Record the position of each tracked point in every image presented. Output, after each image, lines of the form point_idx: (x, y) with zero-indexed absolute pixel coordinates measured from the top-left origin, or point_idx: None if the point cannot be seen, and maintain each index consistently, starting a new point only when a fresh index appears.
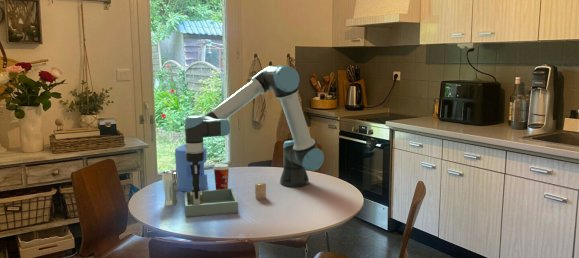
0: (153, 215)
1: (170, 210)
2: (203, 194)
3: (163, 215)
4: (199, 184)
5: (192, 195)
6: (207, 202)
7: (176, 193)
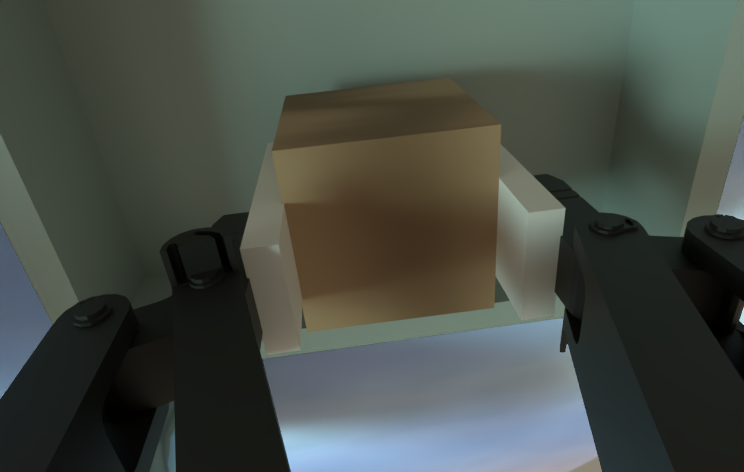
0: (472, 454)
1: (377, 373)
2: (26, 100)
3: (494, 398)
4: (166, 261)
5: (494, 282)
6: (167, 12)
7: (172, 453)
